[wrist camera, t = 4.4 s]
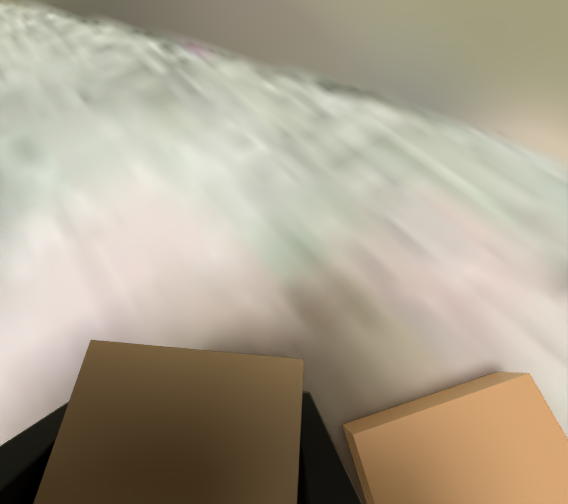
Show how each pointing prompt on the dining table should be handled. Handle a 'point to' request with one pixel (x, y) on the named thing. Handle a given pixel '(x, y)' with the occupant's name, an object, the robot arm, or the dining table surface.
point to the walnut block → (178, 429)
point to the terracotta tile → (464, 447)
